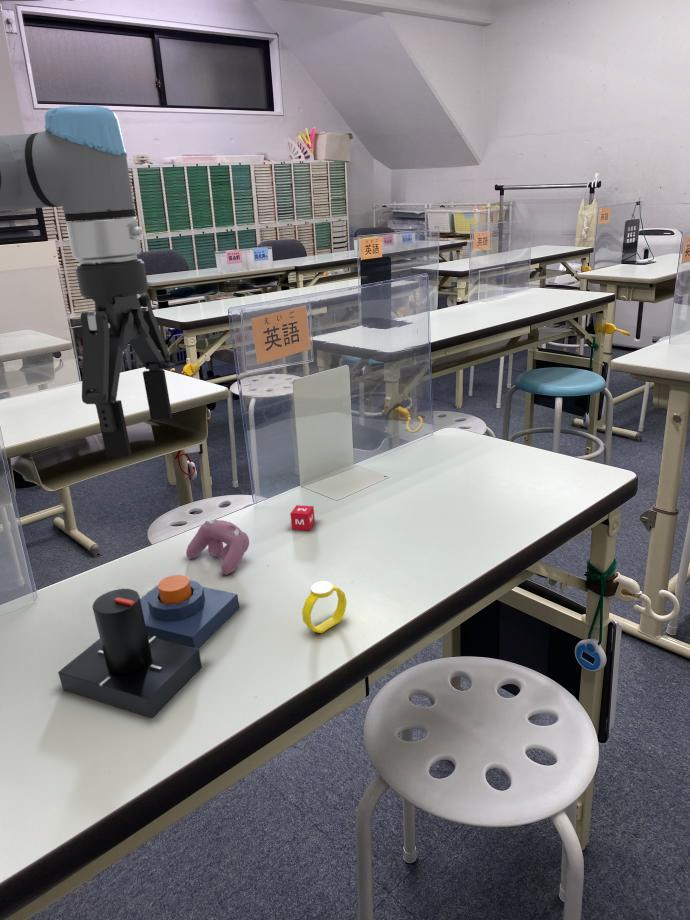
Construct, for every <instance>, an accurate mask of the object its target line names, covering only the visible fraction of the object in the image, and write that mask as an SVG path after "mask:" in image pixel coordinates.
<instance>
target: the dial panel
mask: <svg viewBox="0 0 690 920" xmlns="http://www.w3.org/2000/svg"><path fill="white" fill-rule="evenodd" d="M148 640H149V645H150V649H151V659H150V661H149V662H148V663H147V664H146V665H145V666H144V667H142V668H141V669H139V670H137V671H134V672H131V673H127V674H115V673H112V672H110V671H109V670H108V669H107V666H106V662H105V657H104V653H103V649H102V645H101V641H100V638H98V639H97V640H96V641H95V642H93V643H91V645H90V646H89V647H87V648H86V649H85V650H84V651H82V652H81V653H80V654H78V655H77V656H76V657H75V658H73V659H72V660H71V661H70V662H69V663H67V664H66V665H65V666H63V667H62V668H60V670H58V671H57V672H58V673H57V674H58V677H59V681H60V685H61V688H62V690H63V691H66V692H69V693H72V694H75V695H79V696H81V697H84V698H88V699H92V700H94V701H97V702H101V703H104V704H106V705H111V706H113V707H117V708H120V709H123V710H126V711H128V712H129V711H130V712H133V713H136V714H139V715H141V716H144V717H147V718H151V719H153V717H155V716H156V715H157V713H159V712H160V711H161V710H162V708H163V707H164V706H165V705H166V704H167V703H168V702H169V701H170V700H171V699H172V698H173V697H174V696H175V695H176V694H177V693H178V692H179V691H180V690H181V689H182V688H183V687H184V686H185V685H186V684H187V683H188V681H190V680H191V678H193V677H194V675H196V673H197V672H198V671H199V670H200V669H201V668H202V667H203V664H202V659H201V655H200V654H201V653H200V649H199V648H198V649H195V648H192V647H188V646H184V645H180V644H176V643H172V642H168V641H164V640H160V639H156V636H153V637H149V636H148Z"/></svg>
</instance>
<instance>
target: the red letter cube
mask: <svg viewBox="0 0 690 920" xmlns="http://www.w3.org/2000/svg"><path fill="white" fill-rule="evenodd" d="M314 507H315V506H313V505H301V504H299V505H298V504H296V505H295V506H294V508H293V509H292V510H291V512H290V522H291V529H292V530H294V531H309V532H310V531H311V529H312V528H313V526H314V525H315V523H316V518H315V508H314Z"/></svg>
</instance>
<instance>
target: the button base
mask: <svg viewBox="0 0 690 920" xmlns="http://www.w3.org/2000/svg"><path fill="white" fill-rule="evenodd" d="M189 580H190V579H189ZM190 586H191V592H192V595H191V597H190V598H188V599H187V600H185V601H183V602H180V603H175V604H165V603H162V602H161V600H160V595H159V590H158V584H157V585H155V587H153V588H152V589H150V590H149V591H148V592H147V593H146V594H144V595H143V596H142V597H140V601H141V606H142V611H143V616H144V620H145V625H146V630H147V635H148V636H149V637H153V636H156V639H160V640H164V641H168V642H172V643H176V644H180V645H184V646H188V647H192V648H195V649H199V648H201V647H202V646H203V645H204V644H205V643H206V641H208V639H210V638H211V637H212V635H214V633H216V632H217V631H218V630H219V629H220V628H221V627H222V625H224V624H225V623H226V622H227V621H228V620H229V619H230V618H231V617H232V616H233V615H234V614H235V613H236V612H237V611H238V610H239V609H240V601H239V595H238V593H236V592H229V591H225V590H220V589H216V588H211V587H206V586H203V585H201V584H200V582H199V581H197V580H190Z"/></svg>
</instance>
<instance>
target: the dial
mask: <svg viewBox="0 0 690 920" xmlns="http://www.w3.org/2000/svg"><path fill="white" fill-rule="evenodd" d="M140 599H141V597H140V594H139V592H138V591H136V590H135V589H131V588H118V589H113V590H110V591H107V592H105V593H102V594H101V595H100V596H98V597H97V598H96V599H95V600H94V602H93V604H92V611H93V615H94V619H95V624H96V628H97V632H98V637H99V639H100V641H101V645H102V649H103V653H104V657H105V662H106V666H107V669H108V670H109V671H110V672H112V673H115V674H127V673H131V672H134V671H137V670H139V669H141V668H142V667H144V666H145V665H146V664H147V663H148V662H149V661H150V659H151V649H150V645H149V640H148V635H147V630H146V625H145V620H144V616H143V611H142V606H141V601H140Z"/></svg>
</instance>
